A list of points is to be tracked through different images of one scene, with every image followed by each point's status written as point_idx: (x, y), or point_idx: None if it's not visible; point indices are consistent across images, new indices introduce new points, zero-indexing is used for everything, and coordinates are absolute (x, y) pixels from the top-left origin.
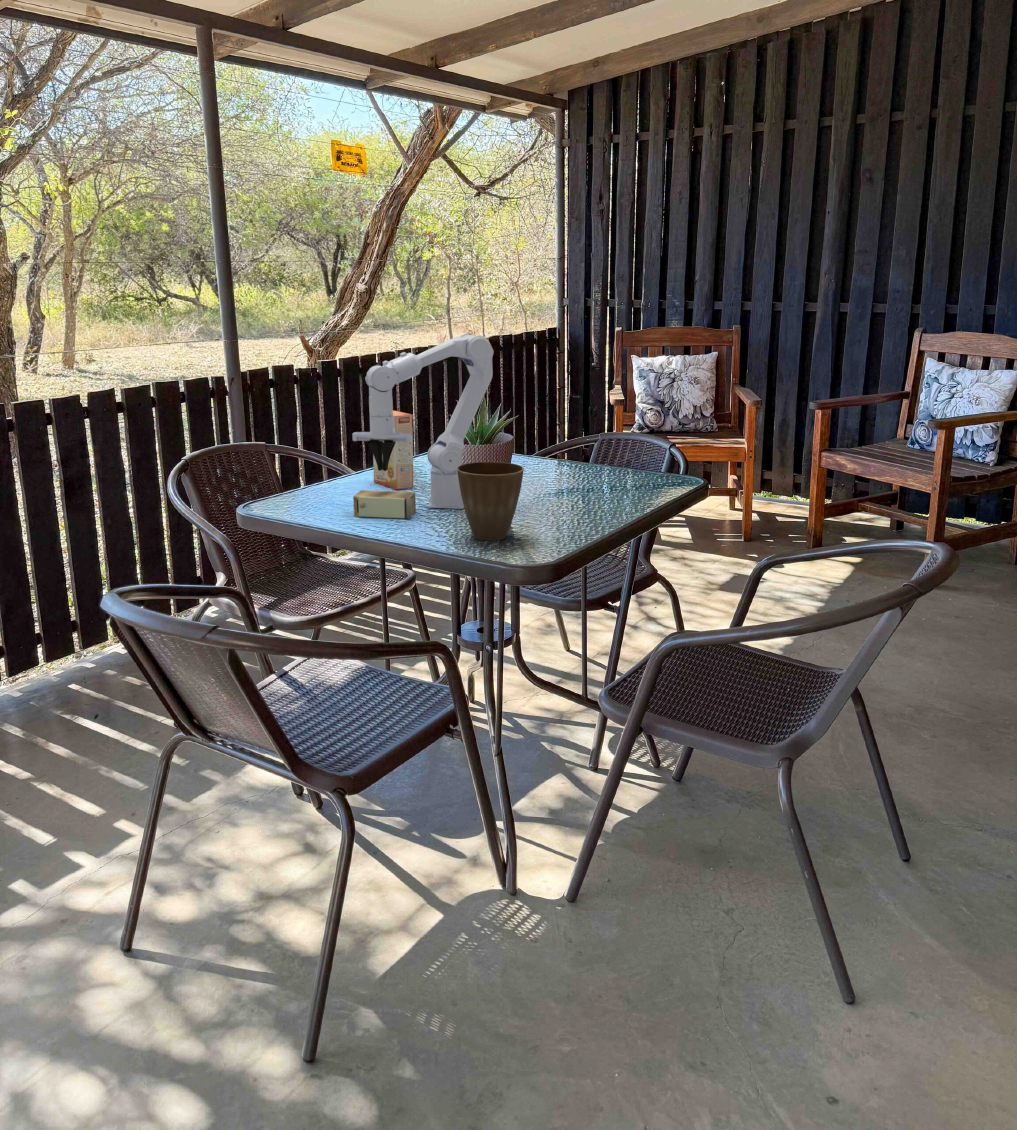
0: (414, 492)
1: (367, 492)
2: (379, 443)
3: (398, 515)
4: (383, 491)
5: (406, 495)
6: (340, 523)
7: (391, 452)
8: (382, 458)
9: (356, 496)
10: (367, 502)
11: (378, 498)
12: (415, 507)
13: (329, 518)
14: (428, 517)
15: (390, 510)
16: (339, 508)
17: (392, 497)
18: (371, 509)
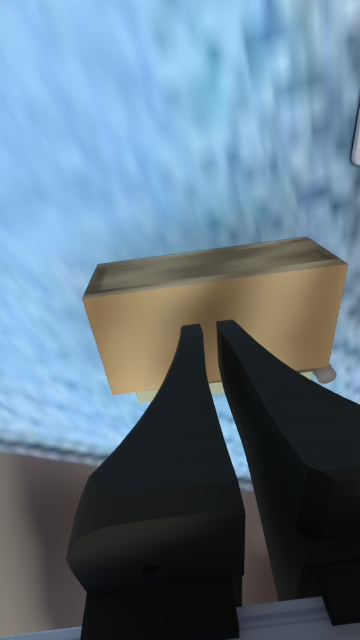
0: (344, 270)
1: (133, 328)
2: (238, 590)
3: None
4: (195, 291)
5: (313, 332)
6: (125, 416)
7: (318, 391)
8: (204, 360)
9: (124, 392)
10: None
11: (214, 392)
12: (314, 243)
13: (66, 386)
14: (355, 300)
15: None
16: (5, 267)
17: None
18: None
